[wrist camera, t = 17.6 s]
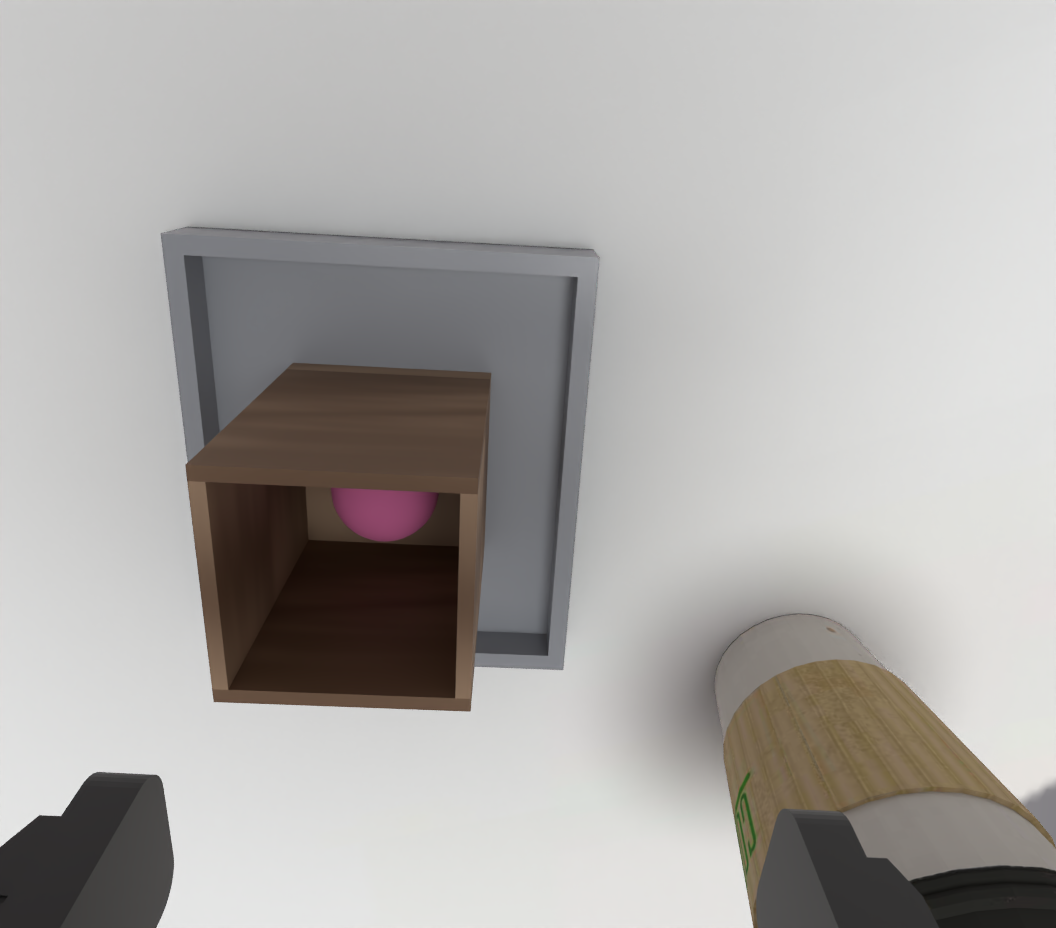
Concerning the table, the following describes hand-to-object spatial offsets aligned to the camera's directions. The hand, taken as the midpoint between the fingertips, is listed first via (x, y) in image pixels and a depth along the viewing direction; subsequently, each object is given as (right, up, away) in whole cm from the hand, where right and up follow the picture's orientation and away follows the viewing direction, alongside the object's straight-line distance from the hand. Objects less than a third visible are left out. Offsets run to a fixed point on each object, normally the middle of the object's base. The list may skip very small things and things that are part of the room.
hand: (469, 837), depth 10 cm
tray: (-4, +5, +18) cm, 19 cm away
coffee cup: (+11, -4, +22) cm, 25 cm away
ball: (-4, +4, +15) cm, 16 cm away
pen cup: (-4, +5, +17) cm, 18 cm away
